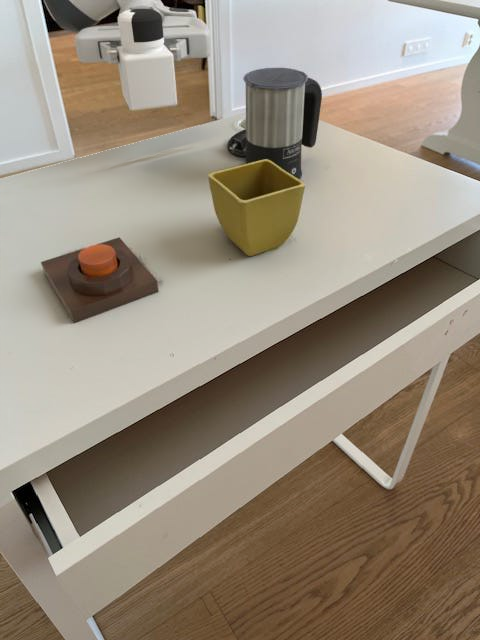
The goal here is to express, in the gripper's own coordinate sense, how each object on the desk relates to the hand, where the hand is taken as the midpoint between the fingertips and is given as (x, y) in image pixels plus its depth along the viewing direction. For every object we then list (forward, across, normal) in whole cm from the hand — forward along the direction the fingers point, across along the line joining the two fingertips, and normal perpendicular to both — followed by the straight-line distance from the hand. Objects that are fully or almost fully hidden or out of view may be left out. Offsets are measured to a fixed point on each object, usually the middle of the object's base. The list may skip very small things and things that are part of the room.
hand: (144, 56), depth 73 cm
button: (+32, -7, +14) cm, 35 cm away
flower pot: (+25, +12, +17) cm, 33 cm away
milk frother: (+2, +17, +17) cm, 24 cm away
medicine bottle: (-1, 0, +7) cm, 7 cm away
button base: (+31, -7, +17) cm, 36 cm away
